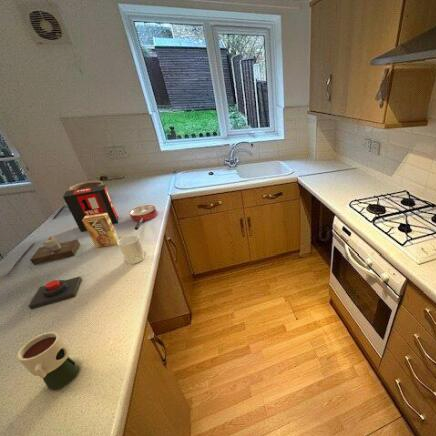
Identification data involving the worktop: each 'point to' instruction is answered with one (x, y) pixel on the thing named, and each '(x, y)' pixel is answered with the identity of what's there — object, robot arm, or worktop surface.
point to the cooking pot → (86, 185)
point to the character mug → (48, 360)
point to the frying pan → (142, 214)
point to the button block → (56, 293)
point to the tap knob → (52, 244)
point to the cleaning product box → (89, 204)
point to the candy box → (100, 230)
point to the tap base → (55, 252)
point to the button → (52, 285)
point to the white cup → (131, 248)
